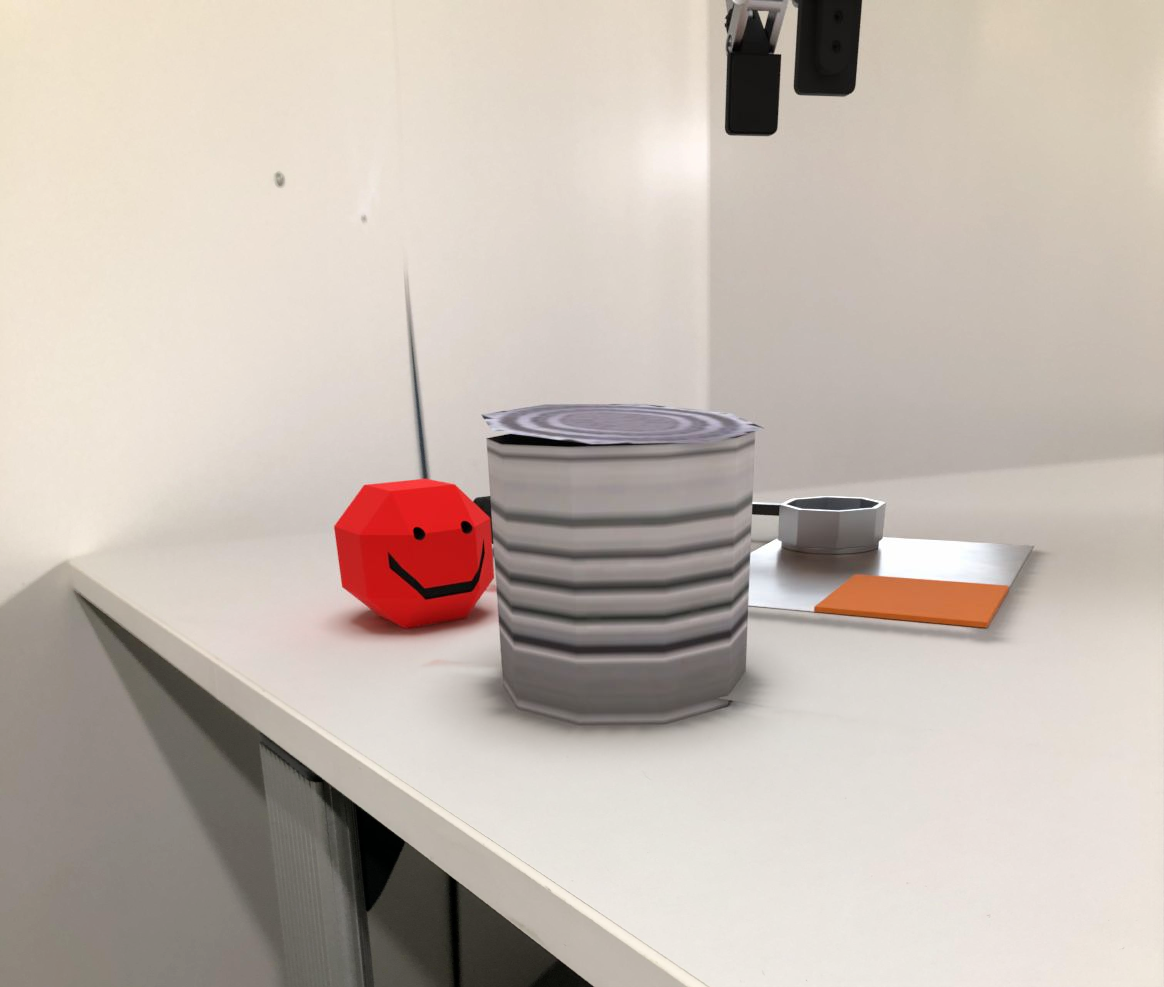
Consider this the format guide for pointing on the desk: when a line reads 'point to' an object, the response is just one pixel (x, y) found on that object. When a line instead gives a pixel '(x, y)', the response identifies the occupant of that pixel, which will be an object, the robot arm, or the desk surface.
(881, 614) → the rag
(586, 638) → the can
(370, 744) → the desk surface
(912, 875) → the desk surface
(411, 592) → the ball
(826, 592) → the board
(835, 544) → the pan
